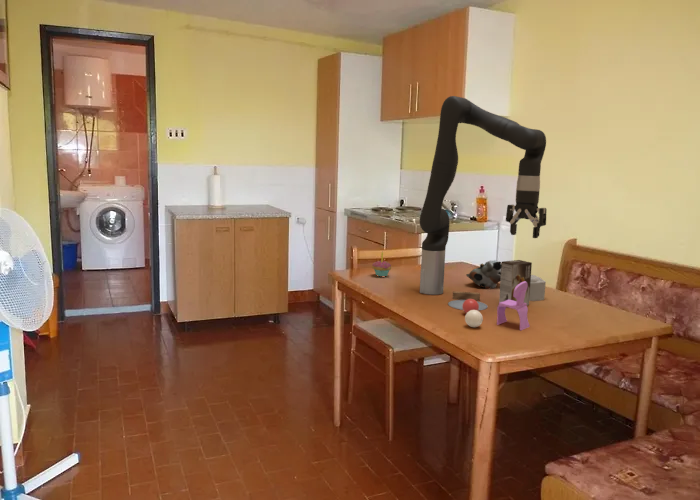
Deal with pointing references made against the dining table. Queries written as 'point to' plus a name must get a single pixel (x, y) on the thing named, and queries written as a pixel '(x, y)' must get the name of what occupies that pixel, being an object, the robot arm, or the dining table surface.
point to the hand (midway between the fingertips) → (524, 236)
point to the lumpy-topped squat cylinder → (537, 288)
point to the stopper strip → (466, 295)
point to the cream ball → (473, 318)
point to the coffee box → (514, 279)
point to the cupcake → (381, 267)
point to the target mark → (459, 304)
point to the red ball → (470, 305)
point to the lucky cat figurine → (486, 274)
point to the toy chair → (515, 306)
